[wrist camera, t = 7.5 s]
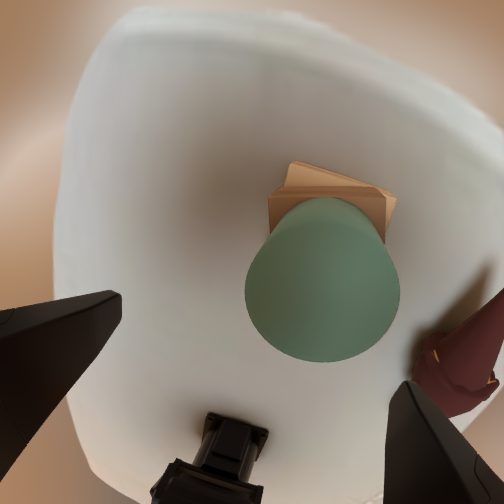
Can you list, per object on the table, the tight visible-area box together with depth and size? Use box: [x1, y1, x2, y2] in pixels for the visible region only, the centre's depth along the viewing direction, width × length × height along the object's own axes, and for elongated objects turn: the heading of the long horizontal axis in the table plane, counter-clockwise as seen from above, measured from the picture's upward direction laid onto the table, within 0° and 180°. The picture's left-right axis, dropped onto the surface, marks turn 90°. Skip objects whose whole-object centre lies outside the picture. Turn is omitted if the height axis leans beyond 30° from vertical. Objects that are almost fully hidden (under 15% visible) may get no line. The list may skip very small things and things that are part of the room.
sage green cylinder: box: [245, 197, 400, 362], centre depth 11 cm, size 5×5×4 cm
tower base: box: [284, 161, 397, 232], centre depth 18 cm, size 6×6×4 cm
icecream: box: [412, 288, 504, 418], centre depth 17 cm, size 7×7×15 cm
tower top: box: [268, 186, 386, 244], centre depth 15 cm, size 5×5×4 cm
